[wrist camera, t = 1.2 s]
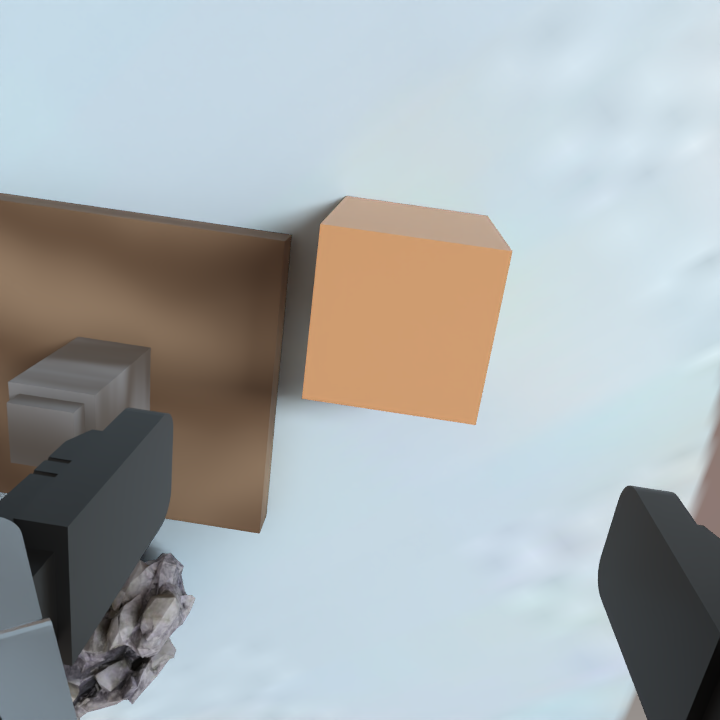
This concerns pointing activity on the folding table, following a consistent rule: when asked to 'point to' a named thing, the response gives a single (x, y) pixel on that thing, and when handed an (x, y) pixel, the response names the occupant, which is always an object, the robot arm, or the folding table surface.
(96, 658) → the mineral specimen
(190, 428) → the post board
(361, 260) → the tan wooden cube
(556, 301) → the folding table surface
